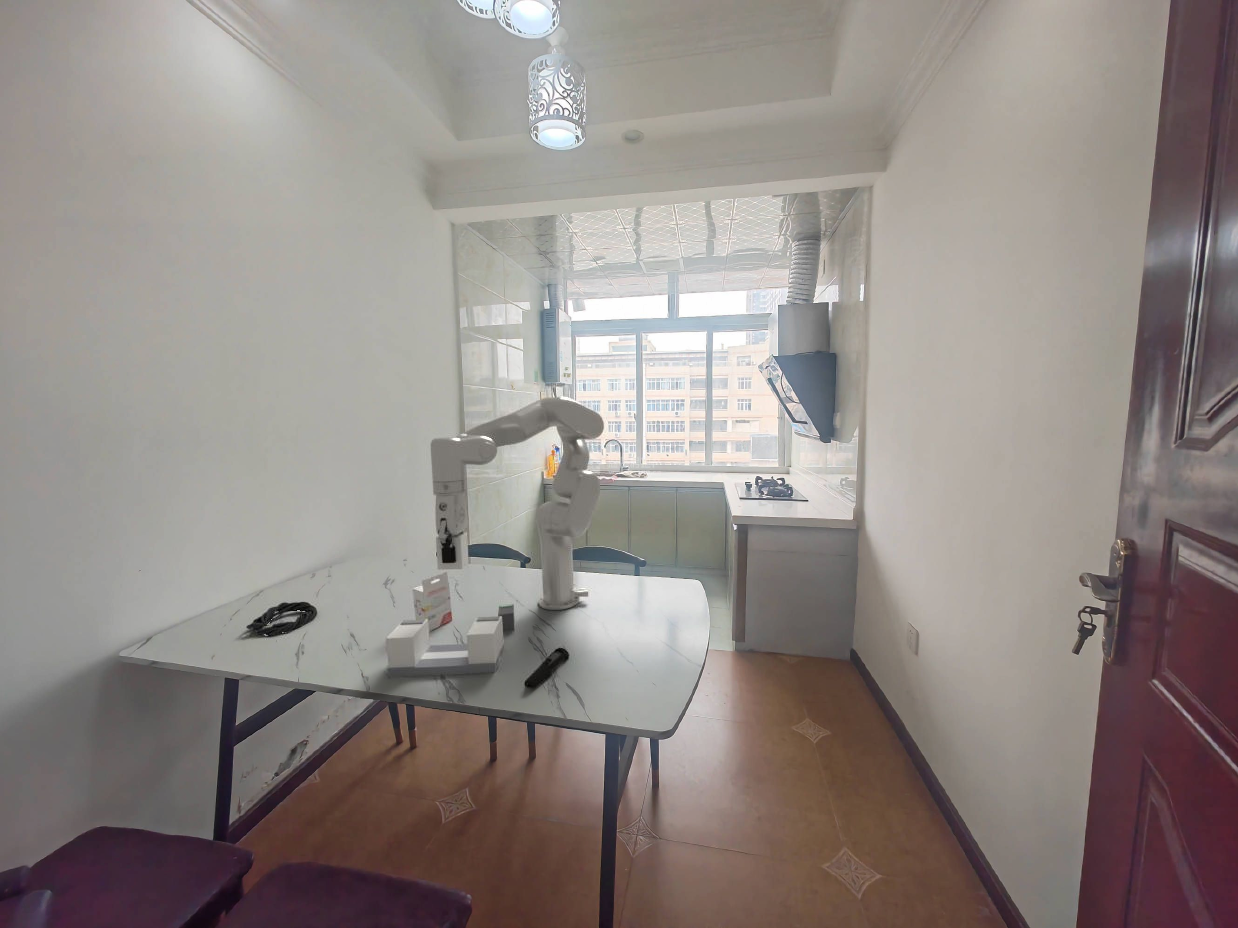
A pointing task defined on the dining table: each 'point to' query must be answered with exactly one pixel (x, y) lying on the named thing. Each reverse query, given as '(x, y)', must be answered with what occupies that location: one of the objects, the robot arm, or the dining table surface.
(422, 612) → the ink cartridge box
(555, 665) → the electric trimmer
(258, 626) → the cable
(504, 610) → the loose device
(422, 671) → the rail board
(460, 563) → the block
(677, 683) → the dining table surface
